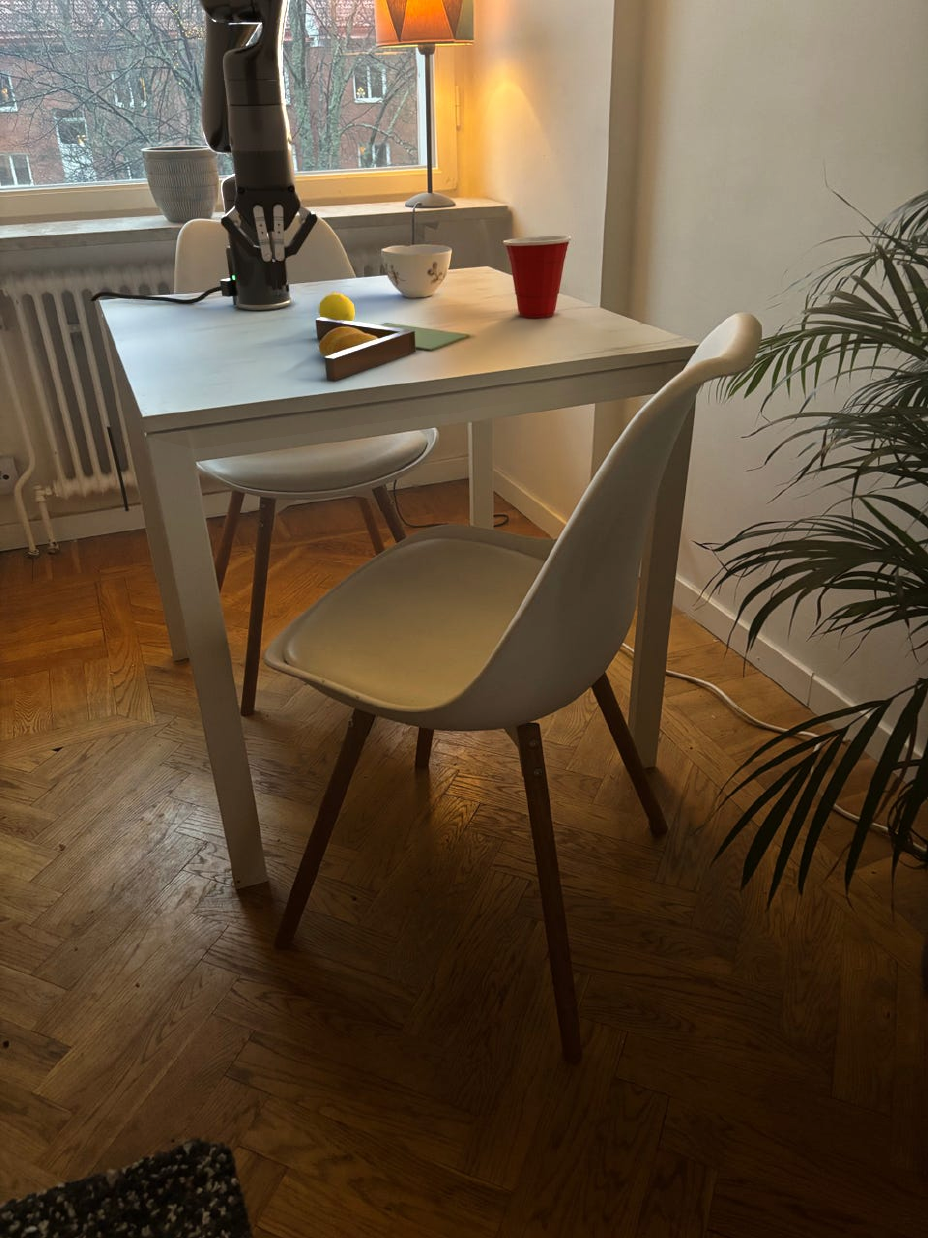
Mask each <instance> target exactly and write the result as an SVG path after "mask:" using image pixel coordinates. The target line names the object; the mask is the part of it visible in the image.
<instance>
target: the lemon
mask: <svg viewBox="0 0 928 1238" xmlns="http://www.w3.org/2000/svg"><path fill="white" fill-rule="evenodd" d="M355 313H356V310H355V305H354V303H353V301H351V299H350V298H349V297H348V296H346V295H344V294H343V293H340V292H339V293H338V292H331V293H329V294H325V296H324V297H323V298H322V299H321V300H320V302H319V305H318V315H319V316H320V317H319V318H329V319H336V320H343V321H350V322H354V321H353V320H354V319H355V315H356V314H355Z"/></svg>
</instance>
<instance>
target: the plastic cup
mask: <svg viewBox="0 0 928 1238" xmlns="http://www.w3.org/2000/svg"><path fill="white" fill-rule="evenodd" d="M571 240H572V237H571V236H570V235H539V236H538V235H537V236H526V237H525V236H524V237H516V238H508V239H505V240H504V239H503V241H502V242H503V245H504V246H505V248H506V250H507V254H508V258H509V262H510V268H511V274H512V280H513V287H514V294H515V296H516V303H517V304H516V305H517V311H518V313H519V316H520V317H523V318H526V319H544V318H551V317H553V316H554V315H555V311H556V307H557V301H558V295H559V293H560V287H561V284H562V283H561V282H562V276H563V270H564V266H565V265H564V264H565V259H566V256H567V251H568V247H569V244H570V241H571Z"/></svg>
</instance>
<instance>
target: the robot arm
mask: <svg viewBox="0 0 928 1238" xmlns="http://www.w3.org/2000/svg"><path fill="white" fill-rule="evenodd" d="M198 1H199V4H200V6H201V8H202V10H203V11H204V13H205V43H204V44H205V46H204V63H203V74H202V75H203V77H202V88H201V89H202V90H201V105H200V106H201V107H200V108H201V109H200V111H201V112H200V113H201V116H200V117H201V127H202V132H203V137H204V139H205V140H204V141H205V142H206V145H207V146H208V149H210V150H211V151H212V152H215V153H216V154H231V158H232V166H233V167H232V168H233V173H234V174H232V175H230V176H228V177H226V178H224V179H223V180H222V182H221V186H220V187H221V194H222V195H221V196H222V200H223V208H224V214H223V215H221V218H220V224H221V226H222V227H223V228H224V229H225V230H226V232H227V238H228V245H229V246H227V247H226V249H225V254H226V262H227V268H228V276H229V278H228V277H227V278H223V279H220V280H219V284H220V285H218V286H215V287H213V288H210V289H208V290H206V291H204V292H203V293H202V294H200V295H199V296H197V297H194V298H191V299H189V298H188V299H181V298H175V297H168V296H157V295H156V296H155V295H141V294H124V293H119V292H113V291H99V292H97V293H95V294H94V295H93V296H92V298H91V299H90V302H96V301H97V300H98V299H99V298H101V297H113V298H118V299H123V300H137V301H138V300H141V301H153V302H155V301H157V302H169V303H173V304H174V303H175V304H183V305H190V304H196V303H199V302H201V301H203V300H205V298H206V297H209V296H210V295H212V294H215V293H217V292H220V291H221V296H222V297H227V298H232V304H233V306H235V307H237V308H238V309H241V310H248V311H268V310H269V311H270V310H276V309H282V308H285V307H288V306H290V305H291V304H292V298H291V292H290V281H289V273H288V262H287V259H288V258H289V257H292V256H296V255H297V254H298V252H299V251H300V250H301V248H302V246H303V245H304V243H305V241H306V240H307V238H308V236H309V235H310V234H311V232H312V230H313V228H314V227H315V225H316V224H317V222H318V216H317V213H316V212H314V211H311V210H310V209H308V208H307V207H305V206H304V205H303V204H302V199H301V197H300V196H299V194H298V192H297V187H296V186H297V185H296V175H295V167H294V166H295V165H294V155H293V144H292V143H293V139H292V135H291V126H290V120H289V115H288V109H287V104H286V92H285V83H284V82H285V81H284V73H283V72H284V71H283V69H284V68H283V49H284V39H285V29H286V24H287V23H286V22H287V17H288V11H289V6H290V5H289V4H290V0H198ZM260 25H261V29H260V33H259V36H258V37H257V39H256V40H255V41H254V42H252V43H250V44H249V42H250V41H251V39H252V38H253V36H254V35H255V33H256V32H257V30H258V28H259V27H260ZM297 214H299V215H298V224H299V225H300V226H299V228H297V230H296V232H295V234H294V236H293V237H292V238H291V240H290V242H289V243H288V244H285V232H286V231H287V230H289V228H290V226H291V225H292V223H293V221H294V220H295V217H296V216H297ZM106 430H107V434H108V439H109V443H110V447H111V451H112V456H113V461H114V464H115V469H116V473H117V477H118V482H119V486H120V487H119V488H120V492H121V495H122V496H121V497H122V501H123V506H124V511H125V512H130V508H129V503H128V497H127V494H126V488H125V484H124V479H123V475H122V474H123V473H122V471H121V466H120V462H119V457H118V453H117V449H116V445H115V439H114V437H113V436H114V435H113V432H112V427H110V426H106Z"/></svg>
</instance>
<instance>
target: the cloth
mask: <svg viewBox="0 0 928 1238" xmlns="http://www.w3.org/2000/svg"><path fill="white" fill-rule="evenodd" d="M378 326H385V327H392V328H399V329H406V330H413V331H415V350H422V351H427V352H432V351H434V350H437V349H439V348H442V347H445V346H447V345H450V344H453V343H456V342H458V341H461V340H464V339H466V338H469V337H470V334H469V333H468V334H467V333H460V332H454V331H447V330H440V329H432V328H426V327H425V328H424V327H418V326H411V325H405V324H398V323H390V322H384V323H382V324H378Z"/></svg>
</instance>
